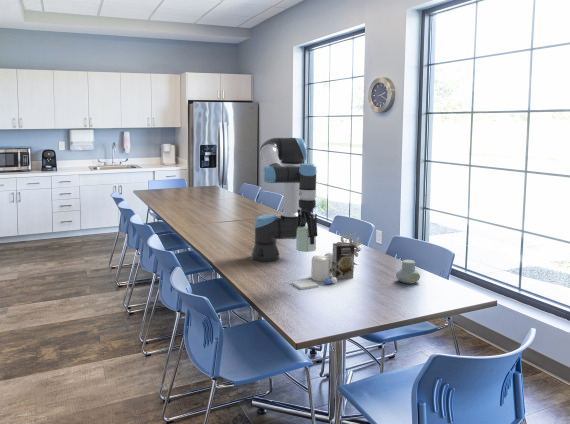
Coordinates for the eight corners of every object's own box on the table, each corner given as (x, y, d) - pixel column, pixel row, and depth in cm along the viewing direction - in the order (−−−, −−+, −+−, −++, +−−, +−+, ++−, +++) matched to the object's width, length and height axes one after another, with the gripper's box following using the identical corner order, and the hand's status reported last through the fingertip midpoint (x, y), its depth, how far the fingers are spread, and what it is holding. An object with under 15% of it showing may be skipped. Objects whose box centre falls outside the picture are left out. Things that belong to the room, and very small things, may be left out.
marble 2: (329, 282, 241) (329, 276, 241) (334, 282, 242) (334, 275, 242) (332, 284, 238) (332, 278, 238) (338, 283, 240) (338, 277, 239)
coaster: (291, 283, 239) (291, 281, 239) (309, 281, 243) (309, 279, 243) (300, 289, 231) (300, 287, 231) (318, 287, 235) (318, 285, 235)
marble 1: (323, 283, 240) (323, 277, 239) (328, 282, 241) (328, 276, 240) (326, 285, 237) (326, 279, 237) (332, 284, 238) (332, 278, 238)
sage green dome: (309, 246, 239) (310, 225, 238) (318, 250, 232) (319, 228, 230) (293, 248, 236) (294, 226, 234) (302, 252, 229) (302, 230, 227)
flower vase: (336, 285, 260) (364, 263, 276) (337, 254, 251) (366, 233, 267) (316, 275, 267) (344, 254, 284) (316, 245, 258) (345, 225, 275)
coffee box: (336, 279, 247) (337, 246, 244) (331, 275, 253) (332, 243, 250) (353, 277, 249) (355, 245, 246) (348, 274, 255) (349, 242, 252)
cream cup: (308, 276, 250) (309, 256, 248) (323, 274, 254) (324, 254, 252) (317, 281, 243) (317, 260, 241) (332, 279, 246) (332, 259, 244)
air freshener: (405, 286, 238) (406, 264, 236) (392, 281, 245) (393, 260, 243) (422, 282, 244) (423, 261, 242) (409, 277, 251) (411, 257, 249)
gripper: (289, 196, 238) (288, 244, 242) (311, 202, 219) (309, 255, 223) (303, 195, 241) (302, 243, 245) (326, 201, 222) (325, 253, 226)
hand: (306, 248), depth 234 cm, fingers closed on sage green dome, 8 cm apart
